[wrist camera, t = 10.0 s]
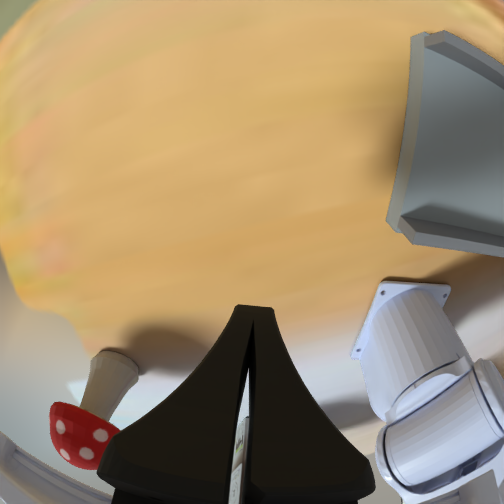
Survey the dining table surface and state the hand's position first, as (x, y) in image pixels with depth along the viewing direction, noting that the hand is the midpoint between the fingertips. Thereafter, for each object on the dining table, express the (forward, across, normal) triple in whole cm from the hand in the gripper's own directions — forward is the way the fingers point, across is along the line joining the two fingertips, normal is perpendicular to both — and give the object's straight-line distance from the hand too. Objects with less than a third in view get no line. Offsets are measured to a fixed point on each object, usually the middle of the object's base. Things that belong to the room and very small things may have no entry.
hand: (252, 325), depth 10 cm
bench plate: (+10, -18, -8) cm, 22 cm away
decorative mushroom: (+11, +16, +20) cm, 28 cm away
